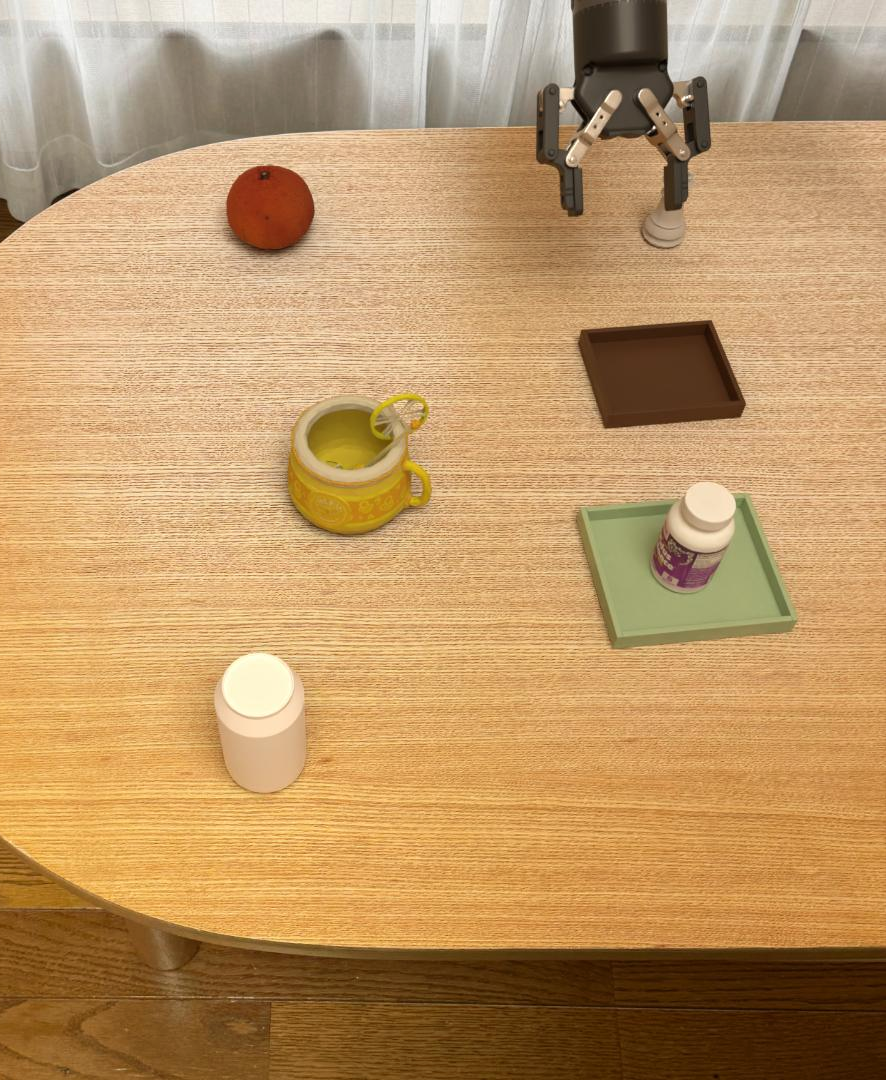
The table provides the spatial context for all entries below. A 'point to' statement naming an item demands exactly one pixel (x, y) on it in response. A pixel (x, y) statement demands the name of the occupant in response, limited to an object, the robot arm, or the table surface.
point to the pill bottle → (694, 538)
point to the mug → (354, 462)
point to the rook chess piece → (666, 223)
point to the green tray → (670, 617)
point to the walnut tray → (660, 374)
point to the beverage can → (261, 722)
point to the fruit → (270, 207)
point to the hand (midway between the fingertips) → (625, 213)
